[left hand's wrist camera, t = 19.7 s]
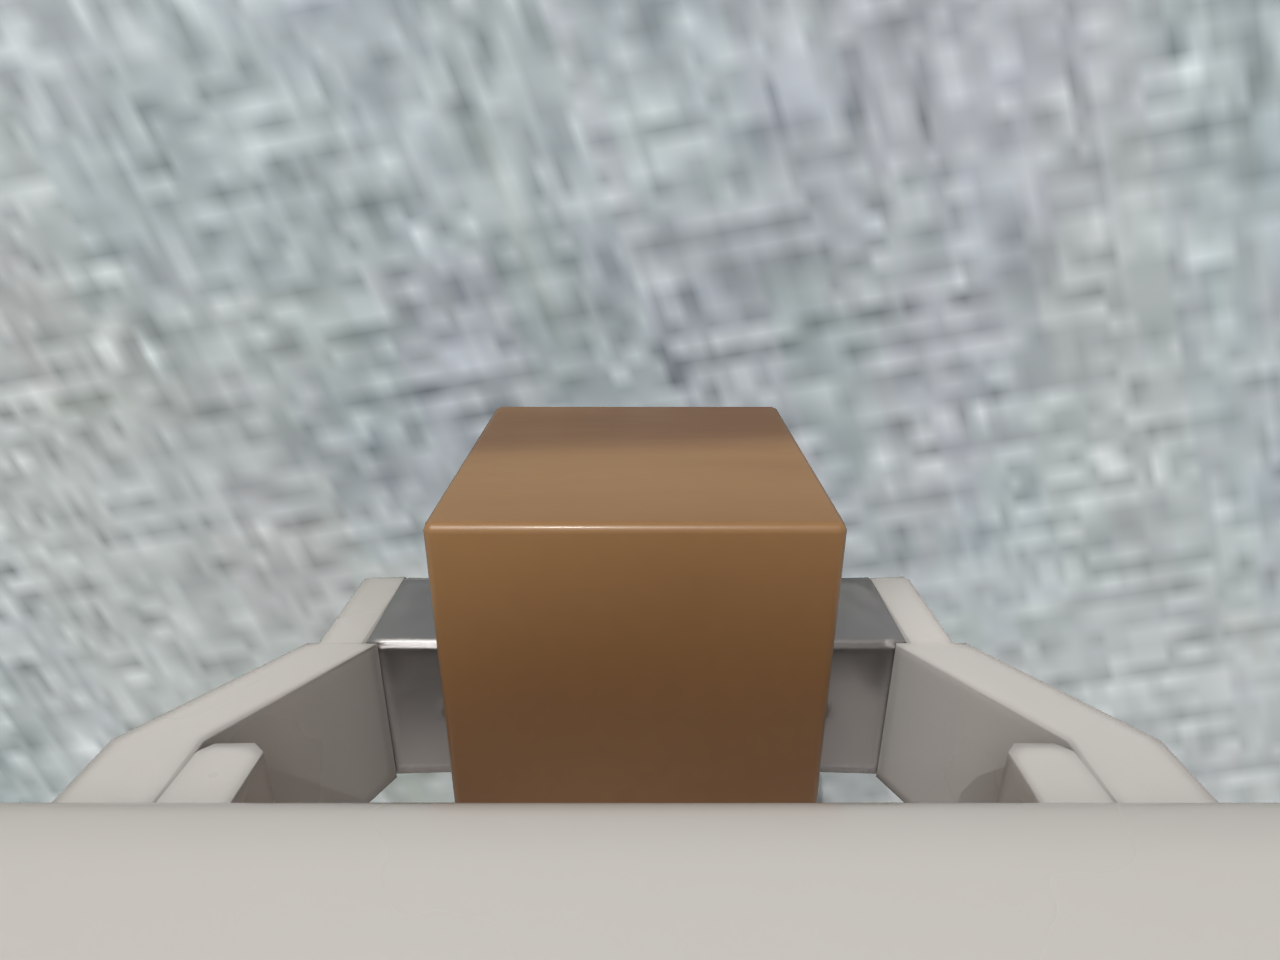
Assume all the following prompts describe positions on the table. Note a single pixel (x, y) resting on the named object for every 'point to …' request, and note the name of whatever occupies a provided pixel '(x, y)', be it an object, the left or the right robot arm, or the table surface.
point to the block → (635, 608)
